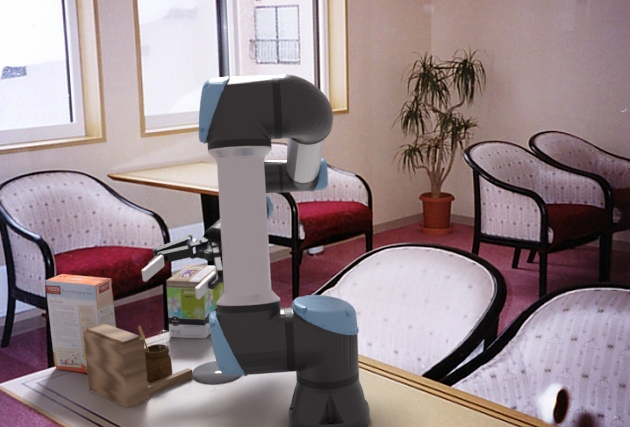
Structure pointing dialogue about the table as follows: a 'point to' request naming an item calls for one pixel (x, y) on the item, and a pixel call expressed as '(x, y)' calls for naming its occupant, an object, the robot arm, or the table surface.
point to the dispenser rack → (122, 366)
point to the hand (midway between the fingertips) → (169, 284)
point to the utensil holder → (157, 360)
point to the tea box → (191, 302)
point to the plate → (211, 374)
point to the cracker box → (76, 315)
